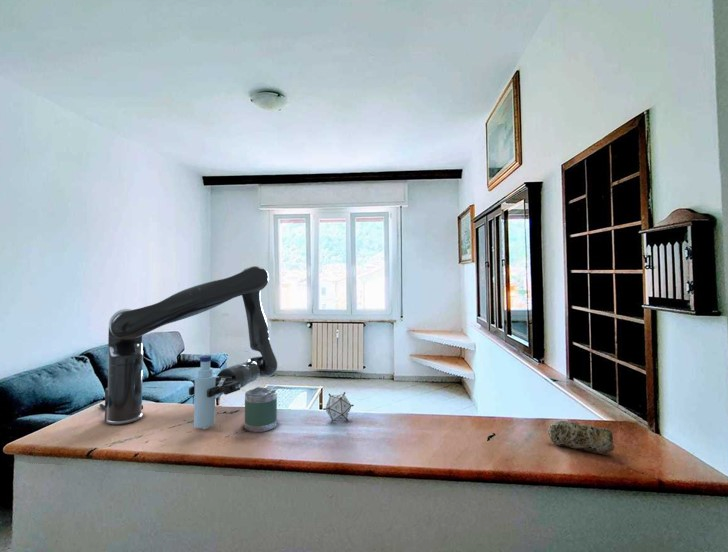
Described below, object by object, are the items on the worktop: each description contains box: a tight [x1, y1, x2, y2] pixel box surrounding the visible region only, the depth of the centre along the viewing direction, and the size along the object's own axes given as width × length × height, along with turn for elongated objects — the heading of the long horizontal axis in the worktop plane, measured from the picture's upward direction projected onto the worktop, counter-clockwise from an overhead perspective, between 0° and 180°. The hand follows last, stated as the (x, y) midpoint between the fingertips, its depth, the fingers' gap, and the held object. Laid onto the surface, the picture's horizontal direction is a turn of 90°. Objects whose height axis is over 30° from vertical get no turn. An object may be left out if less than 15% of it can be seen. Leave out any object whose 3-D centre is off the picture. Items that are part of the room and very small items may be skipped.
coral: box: [547, 419, 615, 456], centre depth 102 cm, size 14×6×6 cm, turn 58°
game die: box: [322, 391, 355, 424], centre depth 121 cm, size 9×8×10 cm
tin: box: [244, 386, 278, 433], centre depth 117 cm, size 9×9×10 cm
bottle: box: [193, 354, 217, 430], centre depth 115 cm, size 6×6×20 cm
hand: (199, 392), depth 113 cm, fingers closed on bottle, 5 cm apart
